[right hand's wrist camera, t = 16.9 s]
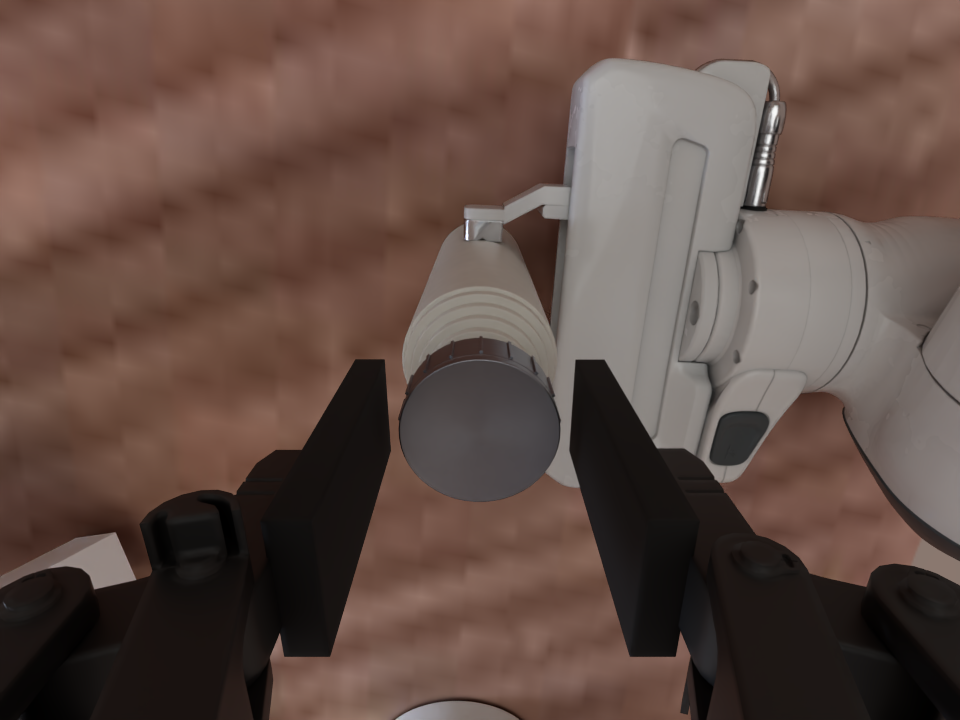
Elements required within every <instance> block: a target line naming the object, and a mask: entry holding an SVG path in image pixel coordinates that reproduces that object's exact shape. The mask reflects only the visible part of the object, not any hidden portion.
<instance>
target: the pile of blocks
mask: <svg viewBox="0 0 960 720" xmlns="http://www.w3.org/2000/svg"><path fill="white" fill-rule="evenodd" d="M63 566H69V567H75V568H81V569H83V570H84V571H85V572H86V573H87V574H88V575H90V578H91V581H92V584H93V587H94V589H98V588H102V587H107V586H111V585H116V584H120V583H125V582H129V581H134V580H136V578H135V576H134V574H133V571H132V569H131V567H130V564H129V562H128V560H127V557H126V555H125V553H124V551H123V548H122V546H121V544H120V541H119V539H118V537H117V534H116V532H114V533H107V534H100V535H93V536H86V537H79V538H75V539H73V540H71V541H69V542H67V543H65V544H63V545H61V546H59V547H57V548H55V549H53V550H51V551H49V552H47V553H45V554H43V555H41V556H39V557H37V558H36V559H34V560H32V561H30V562H28V563H26V564H24V565H22V566H20V567H18V568H16V569H14V570H12V571H10V572H8V573H6V574H4V575H2V576H0V589H1V588H2V587H4V586H6V585H8V584H10V583H12V582H14V581H16V580H18V579H20V578H21V577H23V576H26V575H29V574H31V573H35V572H37V571H41V570H44V569H48V568H56V567H63Z"/></svg>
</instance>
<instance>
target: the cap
mask: <svg viewBox="0 0 960 720" xmlns="http://www.w3.org/2000/svg"><path fill="white" fill-rule="evenodd" d="M405 394H406V398H405V399H404V401H403V404H402V408H401V411H400V414H399V418H398V420H399V439H400V444H401V448H402V451H403V454H404V457H405V458H406V460H407V462H408V464H409V466H410V467H411V468H412V470H413V471H414V473H415V474H416V475H417V476H418V477H419V478H420V479H421V480H422V481H423V482H425V483H426V484H427V485H428V486H430V487H431V488H433V489H435V490H436V491H438V492H440V493H442V494H444V495H447V496H449V497H452V498H455V499H460V500H464V501H473V502H486V501H495V500H500V499H504V498H507V497H510V496H513V495H515V494H517V493H519V492H522V491H523V490H525V489H526V488H528V487H530V486H531V485H532V484H534V483H535V482H536V481H537V480H538V479H539V478H540V477H541V476H542V475H543V474H544V473H545V472H546V470H547V469H548V468H549V466H550V465H551V463H552V461H553V459H554V457H555V455H556V452H557V450H558V446H559V441H560V432H561V428H560V423H561V418H560V415H559V412H558V408H557V405H556V402H555V400H554V397H555V393H554V390H553V387H552V383H551V380H550V378H549V377H546V375H545V373H544V371H543V370H542V368H541V367H540V366H539V365H538V363H537V362H536V360H535V357H534V356H533V355H532V356H530V355H528V354H527V353H526V352H524V351H523V350H521V349H519V348H518V347H516V346H514V345H512V344H511V342H509V341H508V342H504V341H500V340H496V339H489V338H483V336H479V338H470V339H463V340H459V341H455V342H454V340H453V341H451V343H450V344H448V345H445V346H444V347H442V348H440V349H438V350H437V351H435V352H434V353H432V354H431V355H430V354H428V355H427V356H426V360H425V361H423V363H422V364H421V365H420V366H419V368H418V369H417V371H416V372H415V374H414V375H411V376H410V380H409V383H408V386H407V389H406V393H405Z"/></svg>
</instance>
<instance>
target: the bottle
mask: <svg viewBox="0 0 960 720" xmlns="http://www.w3.org/2000/svg"><path fill="white" fill-rule="evenodd" d="M479 336H483V338H489V339H496V340H500V341H504V342H508V341H509V342H511V344H512V345H514V346H516V347H518V348H519V349H521V350H523V351H524V352H526V353H527V354H528V355H530V356H532V355H533V356H534V357H535V360H536V362H537V363H538V365H539V366H540V367H541V368H542V370H543V371H544V373H545V375H546V377H549V378H550V380H551V383H553V381H554V378H555V374H556V369H557V347H556V342H555V338H554V336H553V333H552V330H551V328H550V325H549V323H548V320H547V317H546V315H545V312H544V310H543V307H542V305H541V302H540V300H539V297H538V295H537V292H536V289H535V287H534V284H533V282H532V279H531V277H530V274H529V272H528V269H527V267H526V264H525V261H524V259H523V256H522V254H521V251H520V249H519V246H518V244H517V242H516V241H515V239H514V238H513V236H512V235H511V234H510V233H509V232H508V231H506V230H505V229H504V228H503V231H502V242H490V241H486V240H485V239H483V238H482V239H480V240H479V241H469V240H464V224H463V225H461V226H459V227H458V228H456V229H455V230H453V231H452V232H451V233H450V234H449V235H448V236H447V238H446V239H445V241H444V242H443V244H442V246H441V249H440V251H439V254H438V256H437V259H436V261H435V264H434V266H433V269H432V271H431V274H430V276H429V279H428V281H427V284H426V286H425V289H424V292H423V294H422V297H421V299H420V302H419V304H418V307H417V309H416V312H415V314H414V317H413V319H412V322H411V324H410V327H409V329H408V332H407V334H406V337H405V341H404V345H403V352H402V365H403V371H404V376H405V379H406V382H407V384H408V383H409V380H410V376H411V375H414V374H415V372H416V371H417V369H418V368H419V366H420V365H421V364H422V363H423V361H425V360H426V356H427V355H428V354H430V355H431V354H432V353H434V352H435V351H437V350H438V349H440V348H442V347H444V346H445V345H448V344H450V343H451V341H453V340H454V342H455V341H459V340H463V339H470V338H479Z"/></svg>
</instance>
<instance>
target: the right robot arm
mask: <svg viewBox="0 0 960 720" xmlns="http://www.w3.org/2000/svg"><path fill="white" fill-rule="evenodd" d="M390 452H391V445H390V431H389V416H388V402H387V387H386V373H385V359H355V361H354V363H353V365H352V366H351V368H350V370H349V371H348V373H347V375H346V376H345V378H344V380H343V381H342V383H341V385H340V387H339V388H338V390H337V392H336V393H335V395H334V397H333V398H332V400H331V402H330V403H329V405H328V407H327V409H326V410H325V412H324V414H323V415H322V417H321V419H320V420H319V422H318V424H317V425H316V427H315V429H314V431H313V432H312V434H311V436H310V437H309V439H308V441H307V442H306V444H305V446H304V447H303V449H302V450H275V451H274V452H272V453H271V454H269V455H268V456H267V457H265V458H264V459H262V460H261V461H259V462H258V463H257V464H256V465H255V466H254V468H253V469H252V471H251V472H250V473H249V475H248V476H247V478H246V482H243V483H242V485H241V486H240V488H239V489H238V490H237V494H236V495H233V494H232V493H229V492H224V491H220V490H201V491H196V492H192V493H188V494H183V495H180V496H178V497H176V498H173V499H171V500H169V501H166V502H164V503H162V504H161V505H159V506H158V507H157V508H155V509H154V510H152V511H151V512H149V513H148V514H147V516H146V517H145V518H144V519H143V521H142V522H141V523H140V527H141V531H142V535H143V538H144V542H145V545H146V549H147V553H148V556H149V560H150V563H151V567H152V573H151V575H150V576H148V577H145V578H142V579H138V580H134V581H129V582H125V583H120V584H116V585H111V586H107V587H102V588H98V589H94V587H93V584H92V581H91V578H90V575H88V574H87V573H86V572H85V571H84V570H83V569H81V568H75V567H69V566H63V567H56V568H48V569H44V570H41V571H37V572H35V573H31V574H29V575H26V576H23V577H21V578H20V579H18V580H16V581H14V582H12V583H10V584H8V585H6V586H4V587H2V588H1V589H0V720H269V714H270V705H271V695H272V686H273V674H272V667H271V662H270V655H271V653H272V650H273V648H274V646H275V643H276V641H277V638H278V636H279V633H280V635H281V641H282V646H283V652H284V657H330V655H331V652H332V648H333V645H334V642H335V638H336V635H337V632H338V628H339V625H340V621H341V618H342V615H343V611H344V608H345V604H346V601H347V598H348V594H349V591H350V587H351V584H352V581H353V577H354V574H355V571H356V567H357V564H358V560H359V557H360V554H361V550H362V547H363V543H364V540H365V537H366V533H367V530H368V526H369V523H370V520H371V516H372V513H373V510H374V506H375V503H376V499H377V496H378V493H379V489H380V486H381V482H382V479H383V476H384V472H385V469H386V465H387V462H388V459H389V455H390ZM569 452H570V455H571V459H572V462H573V465H574V469H575V472H576V476H577V479H578V482H579V486H580V489H581V493H582V496H583V499H584V503H585V506H586V510H587V513H588V516H589V520H590V523H591V526H592V530H593V533H594V537H595V540H596V543H597V547H598V550H599V554H600V557H601V560H602V564H603V567H604V571H605V574H606V577H607V581H608V584H609V587H610V591H611V594H612V598H613V601H614V604H615V608H616V611H617V615H618V618H619V621H620V625H621V628H622V632H623V635H624V638H625V642H626V645H627V648H628V652H629V655H630V657H676V652H677V646H678V641H679V635H680V631H681V633H682V636H683V638H684V640H685V643H686V645H687V648H688V650H689V652H690V655H691V657H690V662H689V667H688V672H687V678H686V683H685V688H684V693H683V698H682V705H681V712H680V713H683V714H687V715H688V710H689V705H690V713H691V720H960V586H959V585H958V584H956V583H954V582H952V581H950V580H948V579H946V578H944V577H942V576H940V575H938V574H936V573H933V572H931V571H928V570H924V569H921V568H918V567H915V566H908V565H900V564H889V565H883V566H879V567H878V568H877V569H875V570H874V571H873V572H872V573H871V575H870V578H869V581H868V584H867V587H864V586H859V585H855V584H850V583H846V582H841V581H837V580H832V579H828V578H823V577H820V576H816V575H813V574H809V572H808V570H807V568H806V567H805V565H804V564H803V563H802V561H801V560H800V558H799V557H798V556H796V555H795V554H794V553H793V552H791V551H790V550H789V549H787V548H786V547H785V546H783V545H781V544H779V543H777V542H775V541H772V540H770V539H768V538H765V537H761V536H757V535H756V534H755V533H754V531H753V530H752V529H751V527H750V526H749V524H748V523H747V522H746V520H745V519H744V517H743V516H742V515H741V513H740V512H739V510H738V509H737V508H736V506H735V505H734V503H733V502H732V501H731V499H730V498H729V496H728V495H727V494H726V493H724V489H723V488H722V487H721V485H720V484H719V482H718V481H717V480H715V477H714V475H713V474H712V473H711V471H710V470H709V468H708V467H707V466H706V464H705V463H704V461H702V460H701V459H699V458H698V457H696V456H695V455H693V454H692V453H690V452H689V451H688V450H686V449H685V448H657V447H656V446H655V444H654V442H653V441H652V439H651V437H650V436H649V434H648V432H647V431H646V429H645V427H644V425H643V424H642V422H641V420H640V419H639V417H638V415H637V414H636V412H635V410H634V409H633V407H632V405H631V403H630V402H629V400H628V398H627V397H626V395H625V393H624V392H623V390H622V388H621V387H620V385H619V383H618V381H617V380H616V378H615V376H614V375H613V373H612V371H611V370H610V368H609V366H608V365H607V363H606V361H605V359H575V373H574V387H573V402H572V416H571V431H570V445H569Z"/></svg>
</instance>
